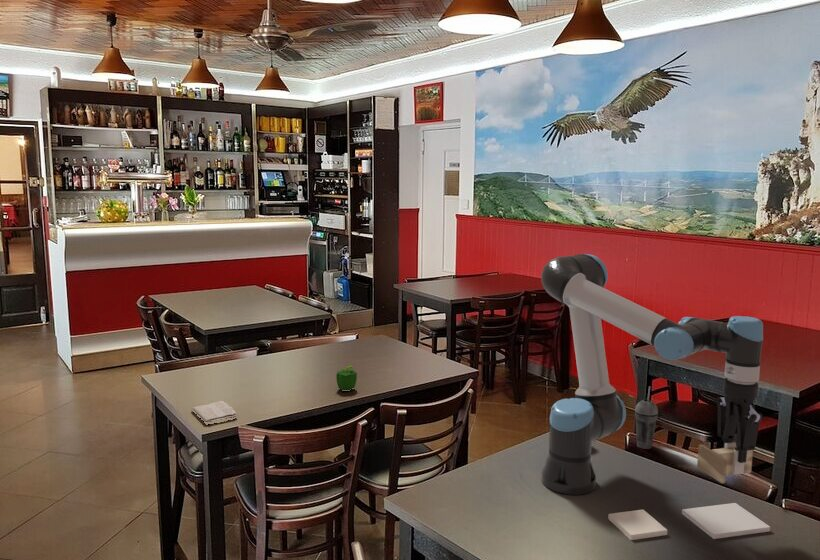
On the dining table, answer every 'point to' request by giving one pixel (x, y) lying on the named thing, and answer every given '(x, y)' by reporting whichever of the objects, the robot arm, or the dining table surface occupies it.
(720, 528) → the board
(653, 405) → the beverage cup
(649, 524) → the tile
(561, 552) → the dining table surface
